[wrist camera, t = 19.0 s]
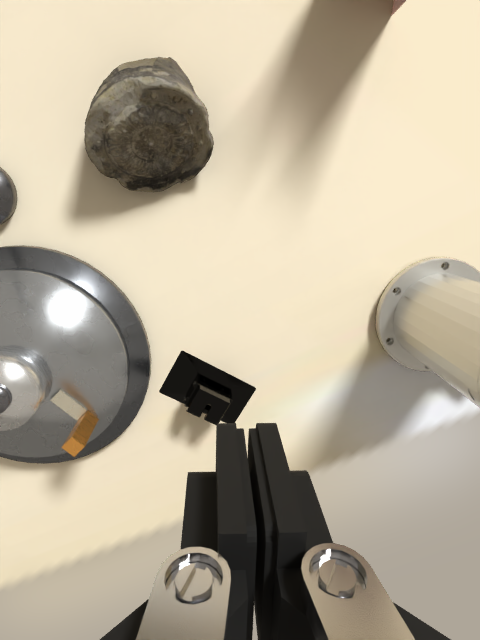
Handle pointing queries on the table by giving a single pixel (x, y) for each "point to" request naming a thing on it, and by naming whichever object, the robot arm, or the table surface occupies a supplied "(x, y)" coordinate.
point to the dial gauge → (7, 196)
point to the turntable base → (124, 318)
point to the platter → (63, 361)
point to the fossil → (148, 126)
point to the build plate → (206, 389)
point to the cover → (21, 385)
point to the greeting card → (397, 5)
